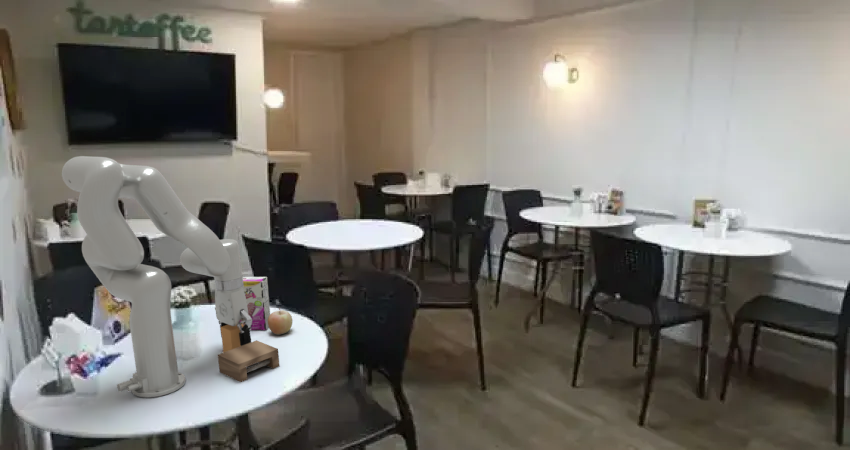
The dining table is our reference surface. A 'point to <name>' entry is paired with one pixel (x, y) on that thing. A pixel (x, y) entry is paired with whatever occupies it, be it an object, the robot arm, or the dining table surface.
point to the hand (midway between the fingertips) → (236, 340)
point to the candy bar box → (257, 301)
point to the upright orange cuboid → (230, 337)
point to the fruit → (280, 322)
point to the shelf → (247, 359)
